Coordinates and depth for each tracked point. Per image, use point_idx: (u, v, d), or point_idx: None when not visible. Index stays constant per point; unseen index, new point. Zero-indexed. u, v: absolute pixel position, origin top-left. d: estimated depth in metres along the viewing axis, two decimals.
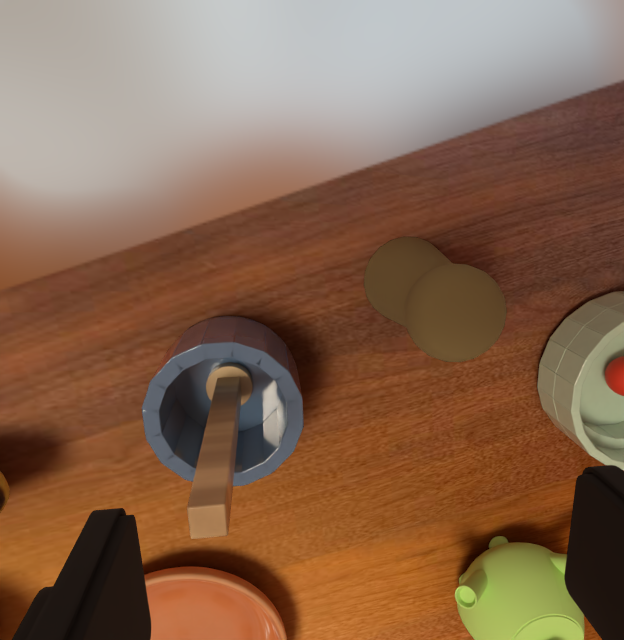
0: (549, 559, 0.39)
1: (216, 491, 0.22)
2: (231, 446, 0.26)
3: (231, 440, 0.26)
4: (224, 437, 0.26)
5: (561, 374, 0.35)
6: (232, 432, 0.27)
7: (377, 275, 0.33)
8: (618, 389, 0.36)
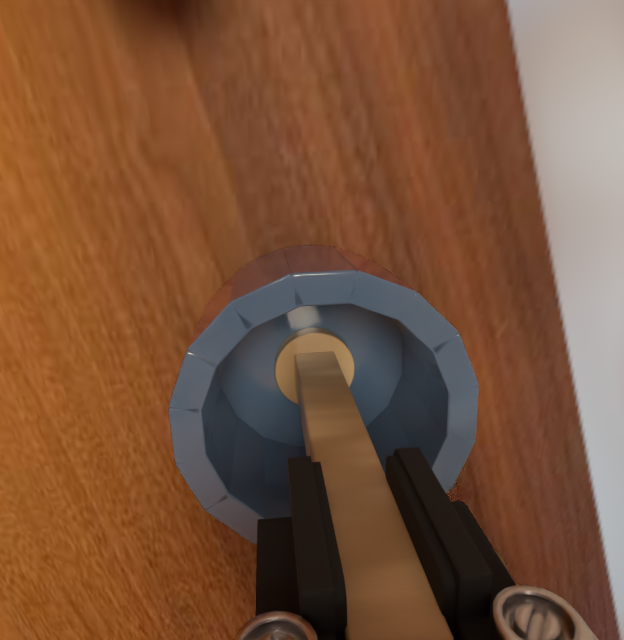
0: None
1: None
2: None
3: None
4: None
5: None
6: None
7: None
8: None
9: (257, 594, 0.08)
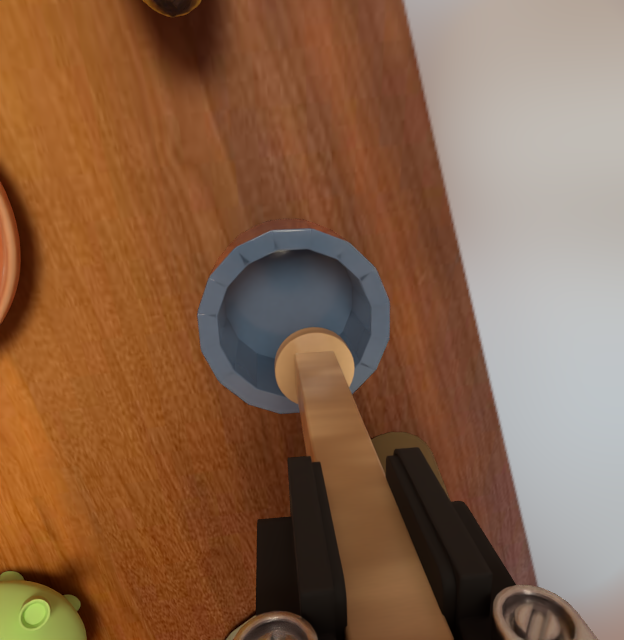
0: None
1: None
2: None
3: None
4: None
5: None
6: None
7: None
8: None
9: (257, 594, 0.08)
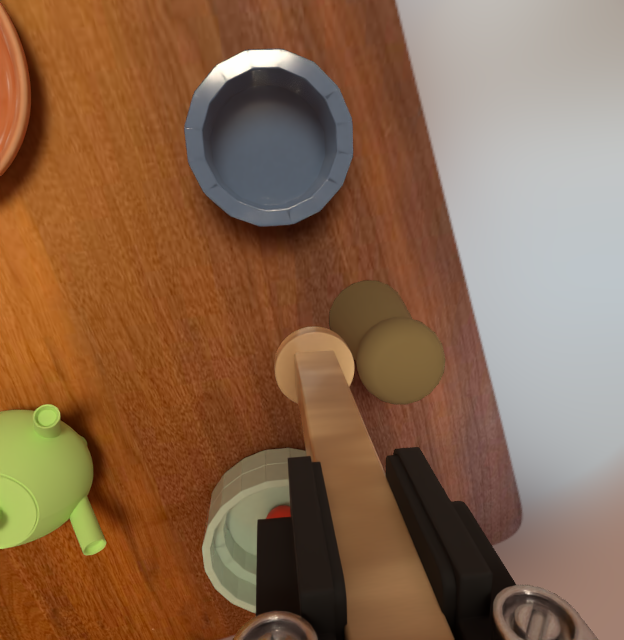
0: (83, 496, 0.36)
1: None
2: None
3: None
4: None
5: None
6: None
7: (384, 291, 0.36)
8: None
9: (257, 594, 0.08)
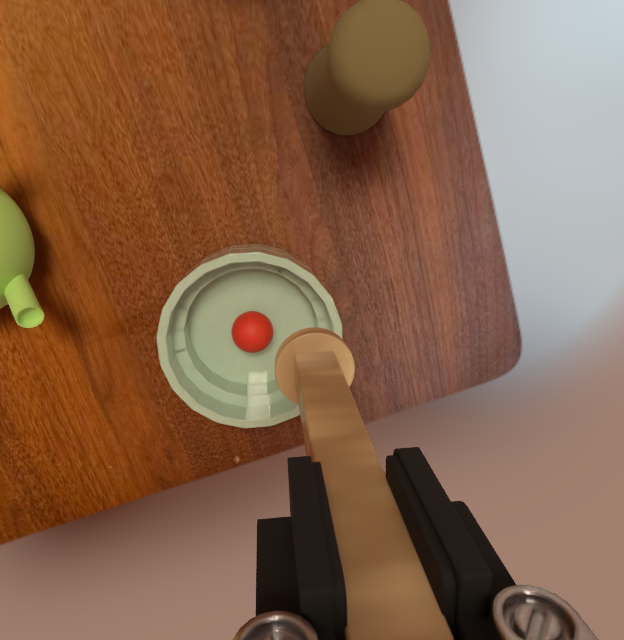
0: (21, 272, 0.32)
1: None
2: None
3: None
4: None
5: (261, 249, 0.33)
6: None
7: None
8: (240, 319, 0.35)
9: (257, 594, 0.08)
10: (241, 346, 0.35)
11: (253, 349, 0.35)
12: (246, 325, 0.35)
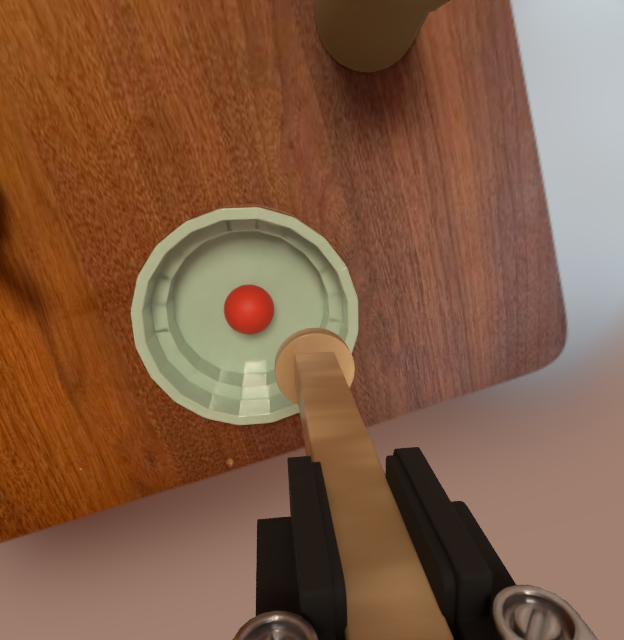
0: None
1: None
2: None
3: None
4: None
5: (261, 206, 0.27)
6: None
7: None
8: (235, 293, 0.29)
9: (257, 594, 0.08)
10: (235, 326, 0.29)
11: (249, 330, 0.29)
12: (241, 300, 0.28)
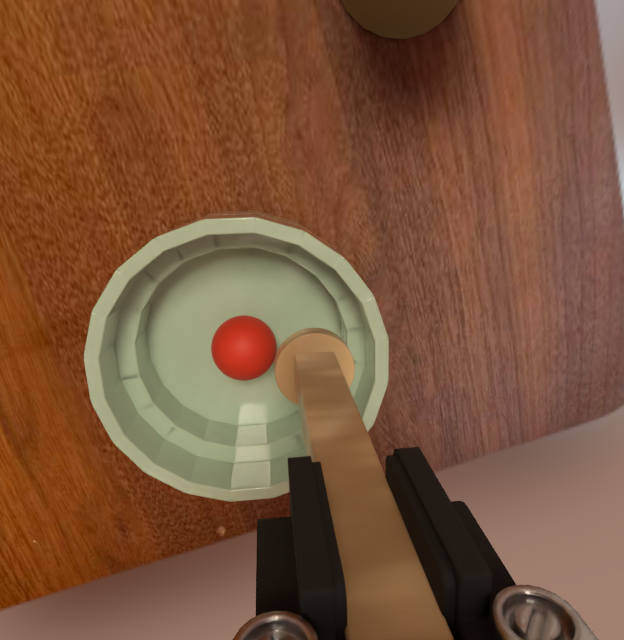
0: None
1: None
2: None
3: None
4: None
5: (259, 215, 0.20)
6: None
7: None
8: (225, 329, 0.22)
9: (257, 594, 0.08)
10: (225, 371, 0.22)
11: (245, 376, 0.22)
12: (233, 338, 0.22)
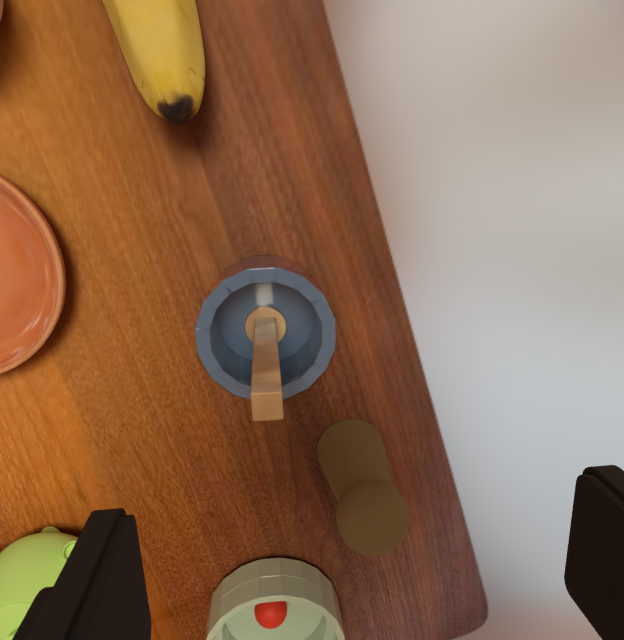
0: None
1: None
2: None
3: None
4: None
5: (283, 580, 0.43)
6: None
7: (364, 435, 0.41)
8: (285, 616, 0.45)
9: None
10: None
11: None
12: (284, 608, 0.45)
